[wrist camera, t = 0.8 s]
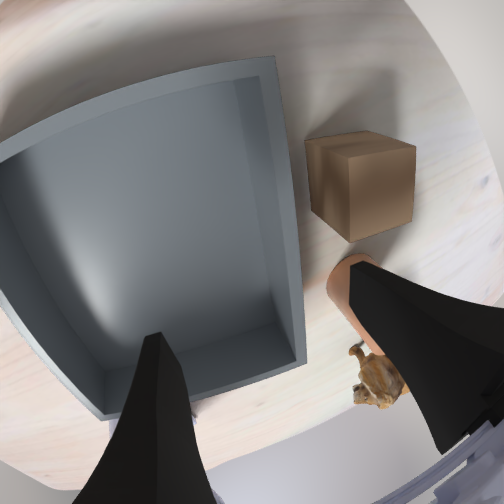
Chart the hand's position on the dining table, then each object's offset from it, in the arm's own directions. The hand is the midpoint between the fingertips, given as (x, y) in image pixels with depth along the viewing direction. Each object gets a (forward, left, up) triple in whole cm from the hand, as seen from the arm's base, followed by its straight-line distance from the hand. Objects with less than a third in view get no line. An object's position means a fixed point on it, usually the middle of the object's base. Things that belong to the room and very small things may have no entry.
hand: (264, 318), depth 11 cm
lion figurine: (-21, -13, -10) cm, 27 cm away
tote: (-1, +5, -10) cm, 11 cm away
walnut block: (+1, -9, -10) cm, 13 cm away
